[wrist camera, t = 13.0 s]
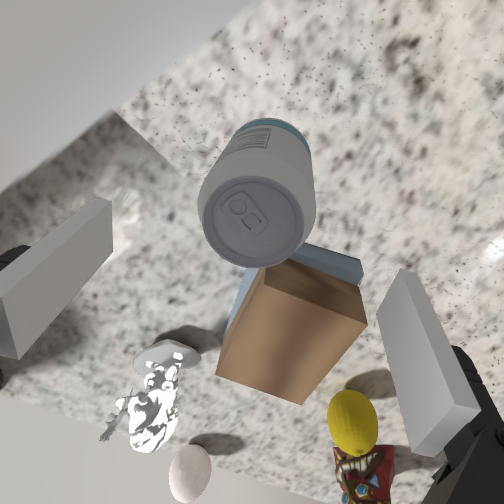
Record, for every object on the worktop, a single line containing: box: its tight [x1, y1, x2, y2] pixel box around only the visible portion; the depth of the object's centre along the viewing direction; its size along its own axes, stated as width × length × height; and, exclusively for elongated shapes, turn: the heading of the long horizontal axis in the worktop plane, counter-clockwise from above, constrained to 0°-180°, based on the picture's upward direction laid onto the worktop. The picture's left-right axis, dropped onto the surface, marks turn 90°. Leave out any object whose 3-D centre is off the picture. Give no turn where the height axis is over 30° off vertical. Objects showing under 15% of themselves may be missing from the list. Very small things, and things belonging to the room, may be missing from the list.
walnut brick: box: [215, 258, 368, 405], centre depth 32 cm, size 9×12×5 cm
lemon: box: [327, 389, 378, 457], centre depth 40 cm, size 6×6×8 cm
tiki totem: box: [333, 445, 394, 504], centre depth 47 cm, size 9×9×9 cm
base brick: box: [222, 242, 364, 345], centre depth 36 cm, size 10×14×3 cm
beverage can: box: [198, 118, 316, 268], centre depth 24 cm, size 7×7×12 cm
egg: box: [169, 444, 211, 503], centre depth 51 cm, size 6×6×8 cm
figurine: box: [100, 339, 201, 454], centre depth 38 cm, size 9×6×12 cm
